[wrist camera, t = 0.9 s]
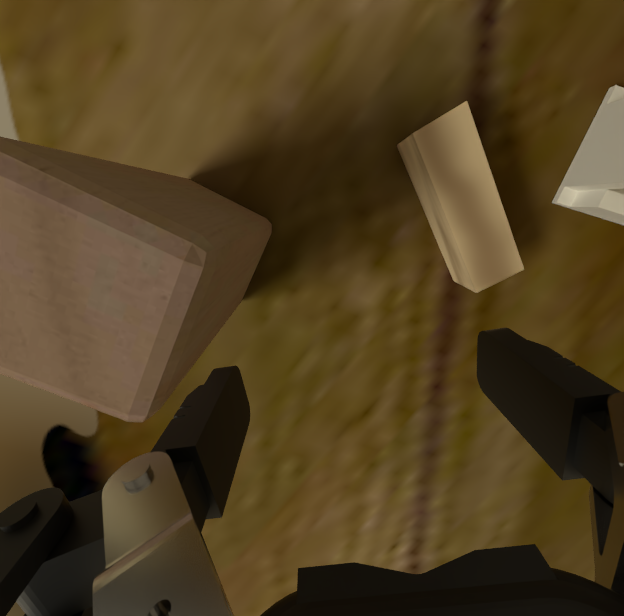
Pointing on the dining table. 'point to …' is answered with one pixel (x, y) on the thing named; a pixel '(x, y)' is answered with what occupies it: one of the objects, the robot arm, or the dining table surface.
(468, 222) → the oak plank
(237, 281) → the wooden block
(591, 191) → the peg cradle
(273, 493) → the dining table surface
